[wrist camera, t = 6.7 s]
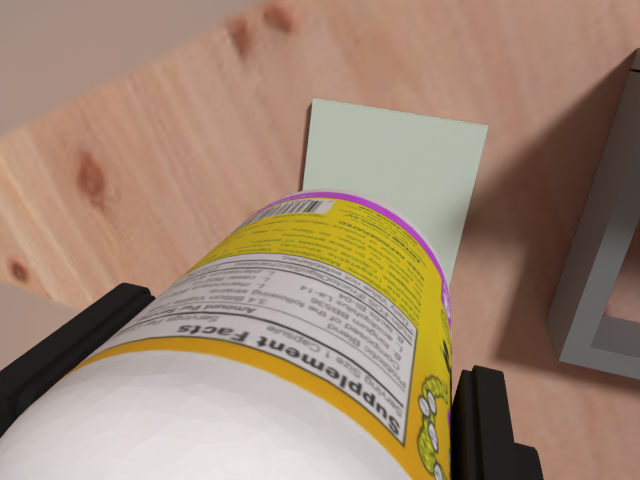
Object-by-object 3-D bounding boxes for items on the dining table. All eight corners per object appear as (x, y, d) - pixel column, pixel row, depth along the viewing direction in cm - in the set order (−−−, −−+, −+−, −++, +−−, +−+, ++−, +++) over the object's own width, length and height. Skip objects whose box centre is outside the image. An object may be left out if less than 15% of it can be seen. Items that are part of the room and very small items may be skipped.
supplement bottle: (382, 417, 17) (216, 1307, 5) (205, 317, 17) (-353, 936, 5) (500, 253, 14) (766, 1414, 2) (285, 136, 14) (-532, 594, 2)
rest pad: (487, 124, 23) (488, 126, 22) (448, 282, 26) (448, 287, 26) (316, 98, 24) (312, 99, 24) (298, 250, 27) (295, 254, 27)
